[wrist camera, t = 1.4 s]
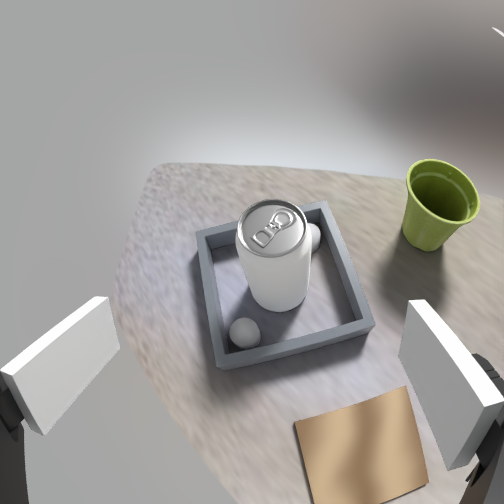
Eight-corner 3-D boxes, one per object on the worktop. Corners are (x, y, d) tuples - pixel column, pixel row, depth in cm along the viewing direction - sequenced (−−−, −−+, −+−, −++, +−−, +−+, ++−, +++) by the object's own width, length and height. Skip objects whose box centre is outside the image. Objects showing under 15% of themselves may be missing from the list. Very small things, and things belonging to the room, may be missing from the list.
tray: (324, 214, 39) (325, 199, 36) (369, 332, 31) (375, 324, 28) (202, 244, 39) (195, 231, 36) (223, 370, 31) (216, 366, 28)
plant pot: (377, 214, 38) (391, 167, 30) (429, 196, 38) (447, 152, 31) (412, 274, 33) (438, 235, 26) (464, 249, 33) (493, 210, 26)
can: (320, 284, 34) (329, 222, 24) (280, 325, 33) (273, 278, 22) (278, 250, 37) (270, 183, 27) (239, 288, 35) (215, 229, 25)
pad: (404, 386, 27) (405, 385, 27) (427, 481, 21) (429, 482, 21) (294, 421, 27) (294, 422, 27) (318, 520, 21) (319, 522, 21)
